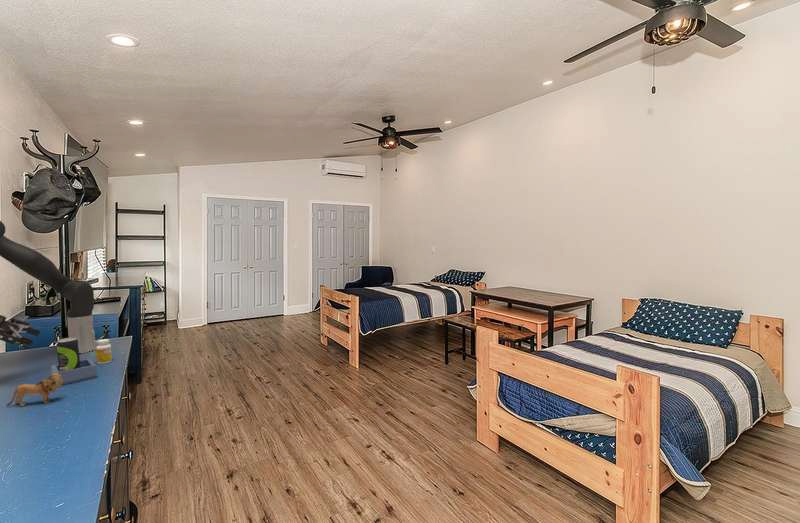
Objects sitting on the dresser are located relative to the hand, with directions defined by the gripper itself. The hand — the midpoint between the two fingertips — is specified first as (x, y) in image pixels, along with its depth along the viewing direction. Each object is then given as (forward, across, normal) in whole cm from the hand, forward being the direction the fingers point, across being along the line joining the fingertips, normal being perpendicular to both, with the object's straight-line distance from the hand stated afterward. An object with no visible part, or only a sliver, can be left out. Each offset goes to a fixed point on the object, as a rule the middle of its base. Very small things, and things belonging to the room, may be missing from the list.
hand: (36, 338), depth 153 cm
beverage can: (+17, -14, +3) cm, 22 cm away
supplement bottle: (+26, +5, +3) cm, 26 cm away
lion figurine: (+11, -33, +4) cm, 35 cm away
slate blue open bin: (+18, -12, +4) cm, 22 cm away
